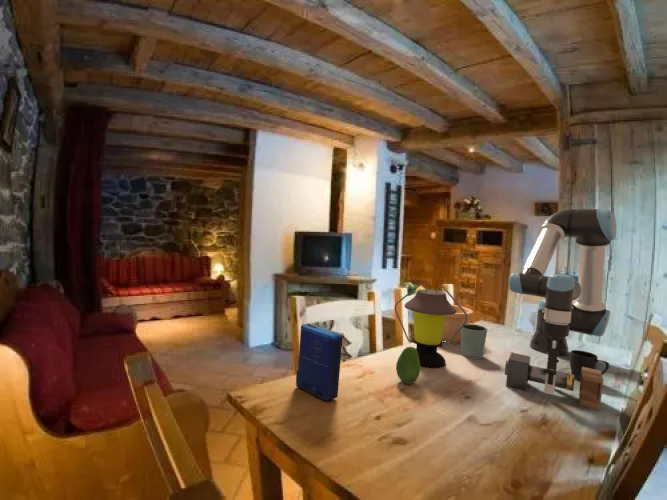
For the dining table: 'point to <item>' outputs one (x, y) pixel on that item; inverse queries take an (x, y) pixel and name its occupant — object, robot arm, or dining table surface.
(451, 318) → the pottery
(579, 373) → the mug
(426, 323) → the lantern
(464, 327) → the grey green textured cup
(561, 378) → the tube
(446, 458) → the dining table surface
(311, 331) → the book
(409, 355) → the fruit
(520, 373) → the sleeve
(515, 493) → the dining table surface
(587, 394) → the socket
